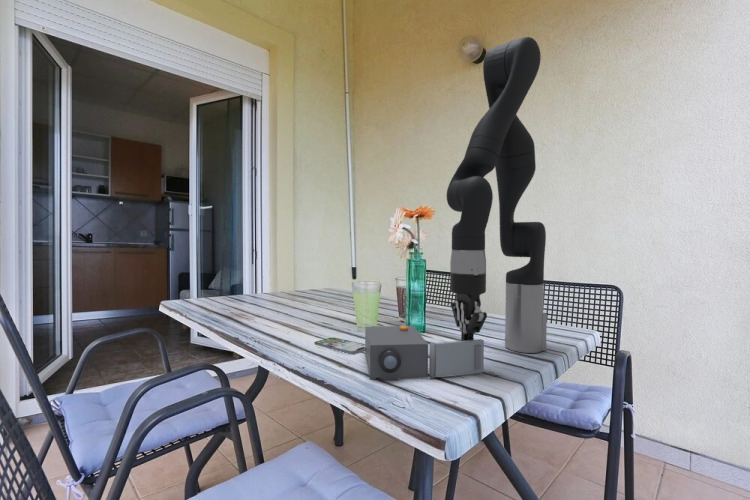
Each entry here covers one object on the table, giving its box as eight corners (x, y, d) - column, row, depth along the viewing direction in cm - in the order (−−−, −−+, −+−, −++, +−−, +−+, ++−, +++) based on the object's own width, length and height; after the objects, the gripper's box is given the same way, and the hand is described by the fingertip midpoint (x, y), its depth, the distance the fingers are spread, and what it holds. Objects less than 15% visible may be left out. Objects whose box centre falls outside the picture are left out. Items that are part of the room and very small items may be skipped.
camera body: (413, 353, 90) (414, 322, 90) (430, 379, 73) (430, 341, 73) (365, 354, 89) (365, 323, 89) (370, 381, 72) (370, 343, 72)
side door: (484, 373, 76) (484, 341, 76) (431, 378, 73) (431, 345, 73) (480, 370, 77) (481, 339, 77) (428, 375, 74) (428, 343, 74)
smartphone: (332, 337, 104) (371, 345, 94) (332, 340, 104) (371, 349, 94) (312, 342, 98) (351, 352, 89) (312, 346, 98) (351, 356, 89)
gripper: (440, 268, 84) (439, 342, 84) (465, 274, 71) (464, 361, 71) (470, 267, 85) (469, 340, 86) (500, 273, 72) (499, 358, 73)
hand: (467, 349), depth 79 cm, fingers closed
